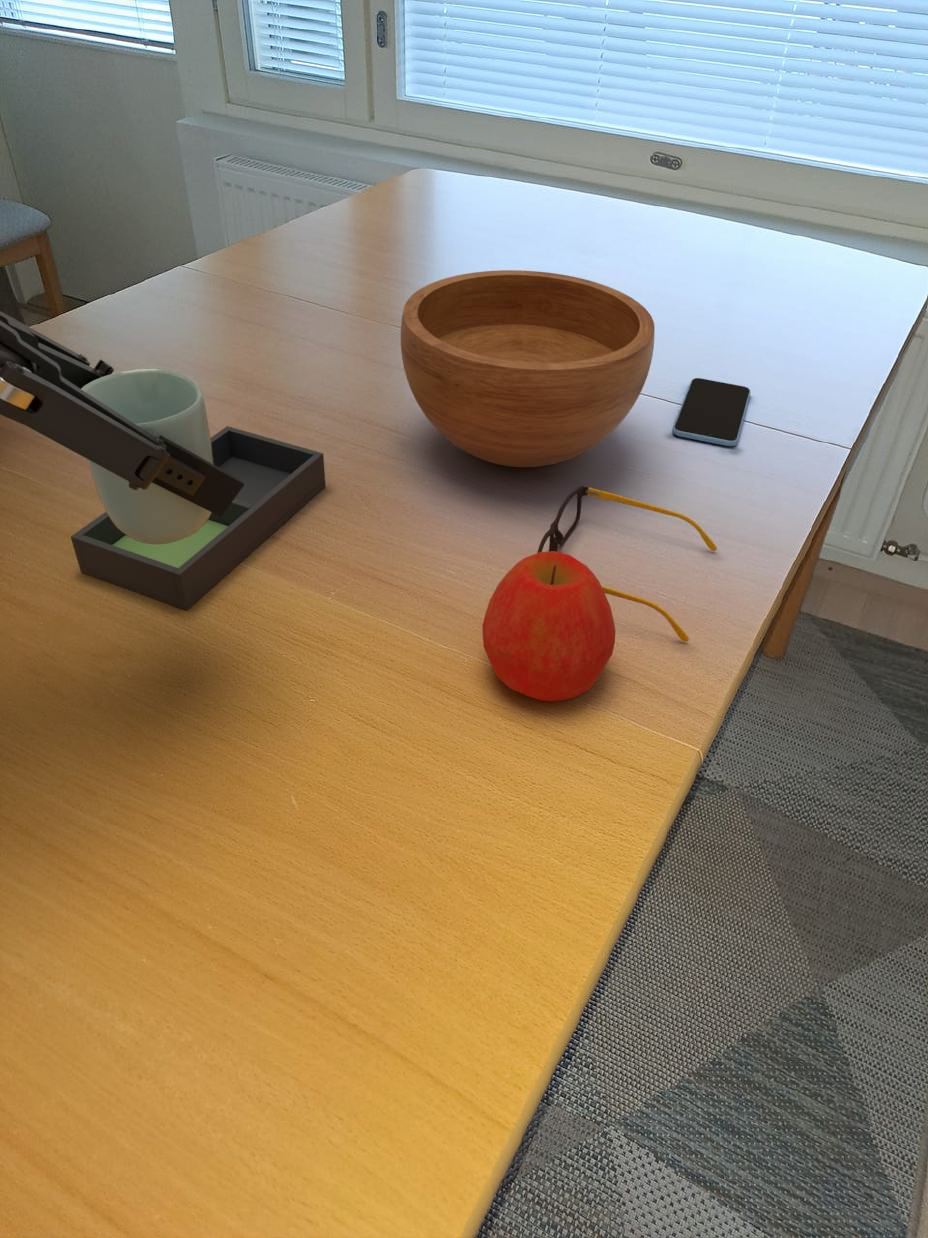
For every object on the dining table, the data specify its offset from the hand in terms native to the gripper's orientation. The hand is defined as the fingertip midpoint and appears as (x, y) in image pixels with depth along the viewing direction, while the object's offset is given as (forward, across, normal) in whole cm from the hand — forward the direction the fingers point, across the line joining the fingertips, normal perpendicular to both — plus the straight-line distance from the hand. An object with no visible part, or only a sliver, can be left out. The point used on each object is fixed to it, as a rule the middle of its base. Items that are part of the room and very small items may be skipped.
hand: (204, 468), depth 63 cm
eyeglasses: (+35, -10, -12) cm, 38 cm away
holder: (+15, +16, +8) cm, 24 cm away
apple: (+25, -16, -2) cm, 30 cm away
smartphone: (+57, +7, -33) cm, 66 cm away
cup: (0, 0, +5) cm, 5 cm away
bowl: (+39, +12, -16) cm, 44 cm away
